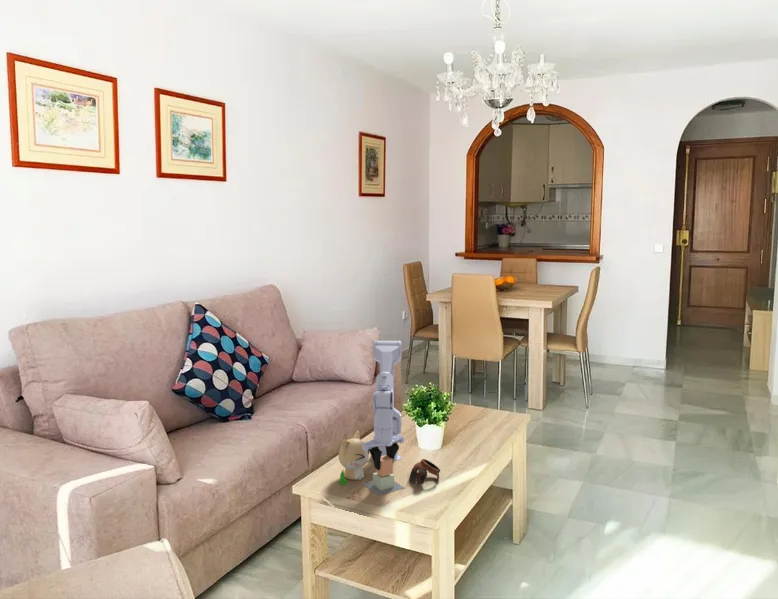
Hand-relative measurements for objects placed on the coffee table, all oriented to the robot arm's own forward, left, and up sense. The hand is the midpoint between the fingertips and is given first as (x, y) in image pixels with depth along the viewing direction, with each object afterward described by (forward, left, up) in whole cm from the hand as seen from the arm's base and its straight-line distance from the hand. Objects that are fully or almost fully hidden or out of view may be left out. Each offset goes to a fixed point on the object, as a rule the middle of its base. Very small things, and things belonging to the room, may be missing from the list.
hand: (383, 467), depth 210 cm
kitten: (-11, -5, -7) cm, 14 cm away
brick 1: (0, 0, -2) cm, 2 cm away
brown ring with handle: (+4, +13, -7) cm, 15 cm away
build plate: (0, 0, -7) cm, 7 cm away
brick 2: (0, 0, -6) cm, 6 cm away
